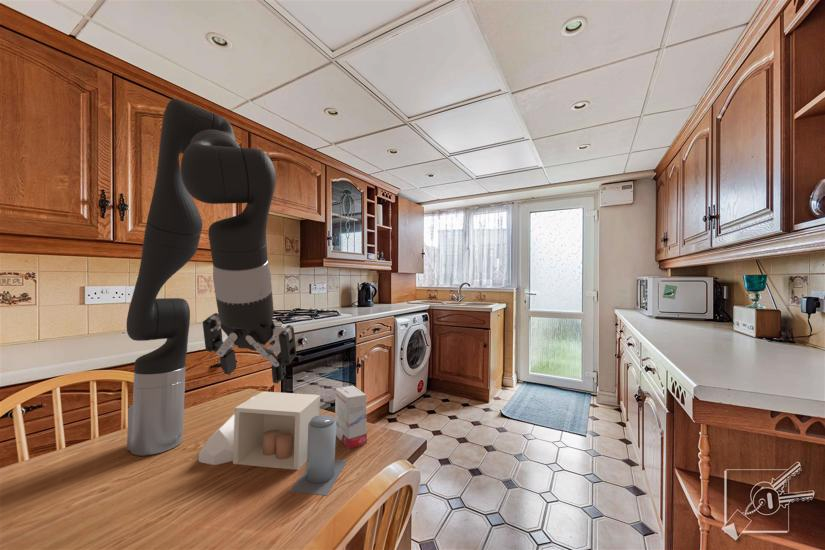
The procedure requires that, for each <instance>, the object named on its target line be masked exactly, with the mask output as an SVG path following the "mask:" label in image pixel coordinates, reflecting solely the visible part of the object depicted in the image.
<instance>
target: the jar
mask: <svg viewBox="0 0 825 550" xmlns="http://www.w3.org/2000/svg"><path fill="white" fill-rule="evenodd" d="M336 439H337V436H336V420H335V416H332V415H330V414H320V415H318V416H315V417H313V418H312V419H311V421H310V422H309V423H308V444H307V460H306V469H307V472H306V478H307V480H308V481H309V482H311V483H316V484H319V483H324V482H327V481H329V480H331V479H332V478H333V476H334V470H335V460H336V441H337V440H336Z"/></svg>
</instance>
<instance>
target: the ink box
mask: <svg viewBox="0 0 825 550" xmlns="http://www.w3.org/2000/svg"><path fill="white" fill-rule="evenodd" d="M334 398H335V401H334V402H335V403H334V404H335V405H334V406H335V407H334V408H335V409H334V411H335V412H334V413H335V415H334V419H335V420H336V438H338V439H339V440H340V441H341V442H342V443H343V445H344V446H345V447H346V448H347V449H353V448H355V447H359V446H362V445H366V444H367V443H368V439H367V437H368V433H367V431H368V430H367V427H368V426H367V423H368V422H367V394H366V393H364V392H363V391H361V390H360V389H359V388H357V387H356V386H354V385H347V386H342V387H336V388H335V397H334Z"/></svg>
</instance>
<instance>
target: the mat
mask: <svg viewBox="0 0 825 550" xmlns="http://www.w3.org/2000/svg"><path fill="white" fill-rule="evenodd" d="M347 462H348V460H343V459H335V470H334V476H333V478H332V479H331V480H329V481H327V482H324V483H319V484H316V483H311V482H309V481H308V480H307V478H306V472H307V468H305V471H304V472H303V473H302V474H301V475H300V476H299V477H298V478H299V479H297V481H296V482H295V483H294V485H293V486H292V487H291V488H290V490H289V492H288V493H298V494H310V495H317V496H319V495H320V496H325V497H326V496H328V495H329V493H330V492H331V490H332V489H333V486H334V485H335V483H336V481H337V479H338V478H339V476H340V474H341V473H342V471H343V469H344V467H345V466H346V464H347Z"/></svg>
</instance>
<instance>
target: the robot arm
mask: <svg viewBox="0 0 825 550" xmlns="http://www.w3.org/2000/svg"><path fill="white" fill-rule="evenodd" d="M161 123H162V124H161V130H160V132H161V133H160V140H159V152H158V157H157V169H156V176H155V182H154V187H153V193H152V197H151V202H150V205H149V211H148V215H147V219H146V223H145V231H144V235H143V242H142V251H141V259H140V264H139V265H140V266H139V270H138V274H137V279H136V282H135V286H134V289H133V293H132V297H131V299H130V300H131V301H130V304H129V307H128V313H127V316H126V317H127V318H126V333H127V335H128V337H129V338H130V339H131V340H133V341H137V342H140V341H142V342H144V341H146V342H147V341H155V340H164V339H166V341H165V342H164V344H162V345H160V346H159V347H158V348H156V349H154V350H152V351H150V352H147V353H145V354H143V355H141V356H139V357H137V358H136V359H135V361H134V365H133V389H132V390H133V391H132V392H133V393H132V404H131V405H129V406H128V408H127V409H128V413H127V435H126V437H127V438H126V450H127V451H130V453H131V454H132V455H134V456H150V455H156V454H160V453H164V452H166V451H170V450H171V449H173V448H176V447H177V446H178V445H180V444H181V443H182V442H183V439H184V435H183V434H184V414H185V395H186V394H185V389H186V387H185V386H186V363H187V362H186V360H187V353H188V341H189V331H190V324H191V309H190V304H189V303H188V301H187V300H186V299H184V298H180V297H175V298H174V297H173V298H172V297H170V298H169V297H168V298H162V297H161V298H157V296H158V295H159V292H160V291H161V290H162V288H163V287H164V285H165V284H166V283H167V282H168V280H169V279H171V278H172V277H173V275H175V274H176V273H177V272H178V271H180V270H181V269H182V268H183V267H184V266H185V265H187V264H188V263H189V262H190V260H191V259H192V258H193V257H194V256H195V254H196V252H197V250H198V247H199V243H200V238H201V234H202V231H203V219H202V215H201V214H200V211H199V209H198V207H197V205H196V203H195V201H194V199H195V200H197V201H199V202H202V203H204V204H212V205H219V204H220V205H221V204H223V205H224V204H246V206H245V207H244V209H243V210H242V211H241V213H239V214H237V215H234V216H231V217H227V218H222V219H220V220H217V221H214V222H213V223H211V224H210V225H209V228H208V242H209V248H210V254H211V261H212V279H213V287H214V292H215V299H216V300H215V301H216V307H217V312H214V313H212V315H210V316H208V317H207V318H205V319H204V320H203V321H202V328H203V338H204V345H205V348H204V349H205V350H206V351H207V352H209V353H212V352H215V353H216V355H217V356H218V357H219V361H220V367H221V369H222V371H223V374H224V375H227V376H230V375H231V374H233V372H234V371H235V370H236V369H237V359H236V353H235V349H232V348H233V347H234V346H237V348H238V349H248V350H251V351H254V352H255V351H256V352H257V353H259V355H260V356H261V357H262V358H266V359H267V360H268V361H269V362H270V364H271V377H272V383H274V384H279V383H280V381H282V380H283V378H284V377H285V376H286V374H287V371H286V366H290V364H291V362H292V361H293V360H294V358H296V356H297V345H296V337H295V329H294V326H293V325H291V324H287V325H286V327H277V326H276V324H275V322H274V320H273V319H274V312H275V309H274V302H273V300H274V298H273V287H272V286H273V285H272V284H273V283H272V274H271V269H270V266H269V259H268V258H269V257H268V244H267V224H268V218H269V214H270V209H271V206H272V202H273V201H272V200H273V197H274V193H275V189H276V182H277V181H276V179H277V174H276V168H275V166H274V163H273V161H272V160H271V158H270V157H269V155H267V153H266V152H265V151H263V150H261V149H259V148H251V147H241V146H240V144H238V143H237V140H236V136H235V133H234V132H235V131H234V129H233V127H232V124H231V123H230V122H229V120H227V119H226V118H224V117H222V116H221V115H218V114H216V113H215V112H211V111H209V110H206V109H205V108H202V107H199V106H197V105H193V104H191V103H188V102H186V101H184V100H181V99H179V98H173V99H172V98H171V100H169V102H168V103H167V105H166V106H165V109H164V113H163V118H162V122H161ZM180 154H182V156H181V160H180ZM180 161H181V162H180ZM193 198H194V199H193ZM223 332H224V333H225V335H226V336H227V338H225V340H224V341H223ZM267 343H269V346H268V347H266V346H265V345H267Z"/></svg>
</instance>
